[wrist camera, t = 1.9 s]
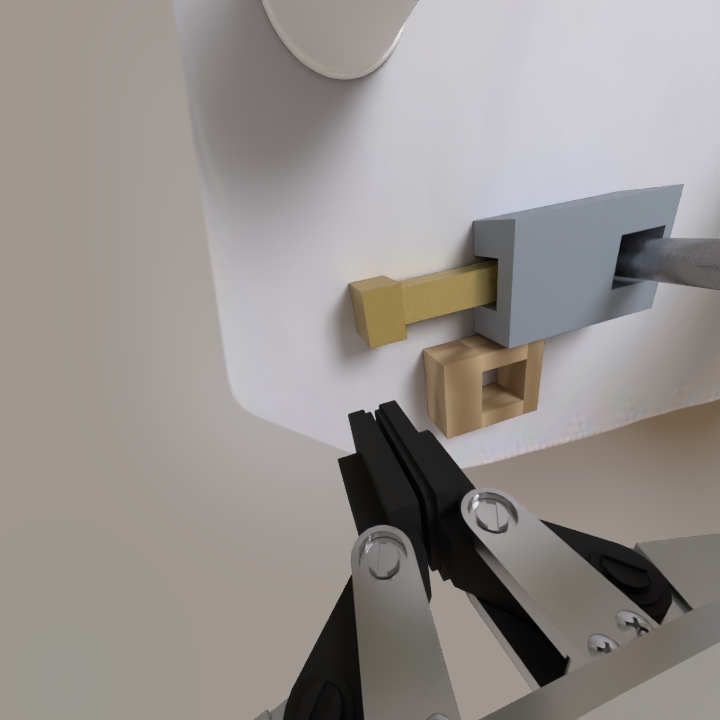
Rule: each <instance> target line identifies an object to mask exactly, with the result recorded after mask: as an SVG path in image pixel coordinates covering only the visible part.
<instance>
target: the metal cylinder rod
mask: <svg viewBox="0 0 720 720" xmlns="http://www.w3.org/2000/svg"><path fill="white" fill-rule="evenodd" d="M614 276H618V277H626V278H633V279H641V280H648V281H656V282H663V283H671V284H678V285H686V286H693V287H701V288H708V289H716V290H720V239H694V238H641V237H621V242H620V247H619V252H618V257H617V262H616V267H615V273H614Z"/></svg>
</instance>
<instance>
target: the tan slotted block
mask: <svg viewBox="0 0 720 720" xmlns="http://www.w3.org/2000/svg"><path fill="white" fill-rule="evenodd" d="M544 339H545V338H544ZM544 339H541V340H537V341H534V342H530V343H527V344H523V345H520V346H516V347H513V348H507V347H505V346H503V345H501V344H499V343H497V342H495V341H493V340H491V339H489V338H487V337H485V336H483V335H481V334H478V335H474V336H471V337H467V338H463V339H460V340H456V341H452V342H448V343H445V344H441V345H437V346H434V347H430V348H426V349H423V355H424V367H425V379H426V391H427V402H428V414H429V417H430V418H431V420H432V421H433V422H434V423H435V425H436V426H437V427H438V428H439V429H440V431H441V432H442V433H443V434H444V435H445V437H446V438H447V439H449V438H452V437H455V436H459V435H462V434H465V433H468V432H471V431H474V430H477V429H480V428H483V427H486V426H489V425H492V424H495V423H498V422H501V421H504V420H507V419H510V418H513V417H516V416H519V415H522V414H526V413H529V412H532V411H535V410H537V404H538V395H539V385H540V376H541V367H542V357H543V348H544ZM494 368H497V382H496V383H493V384H489V385H486V386H483V387H482V372H484V371H488V370H491V369H494Z"/></svg>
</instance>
